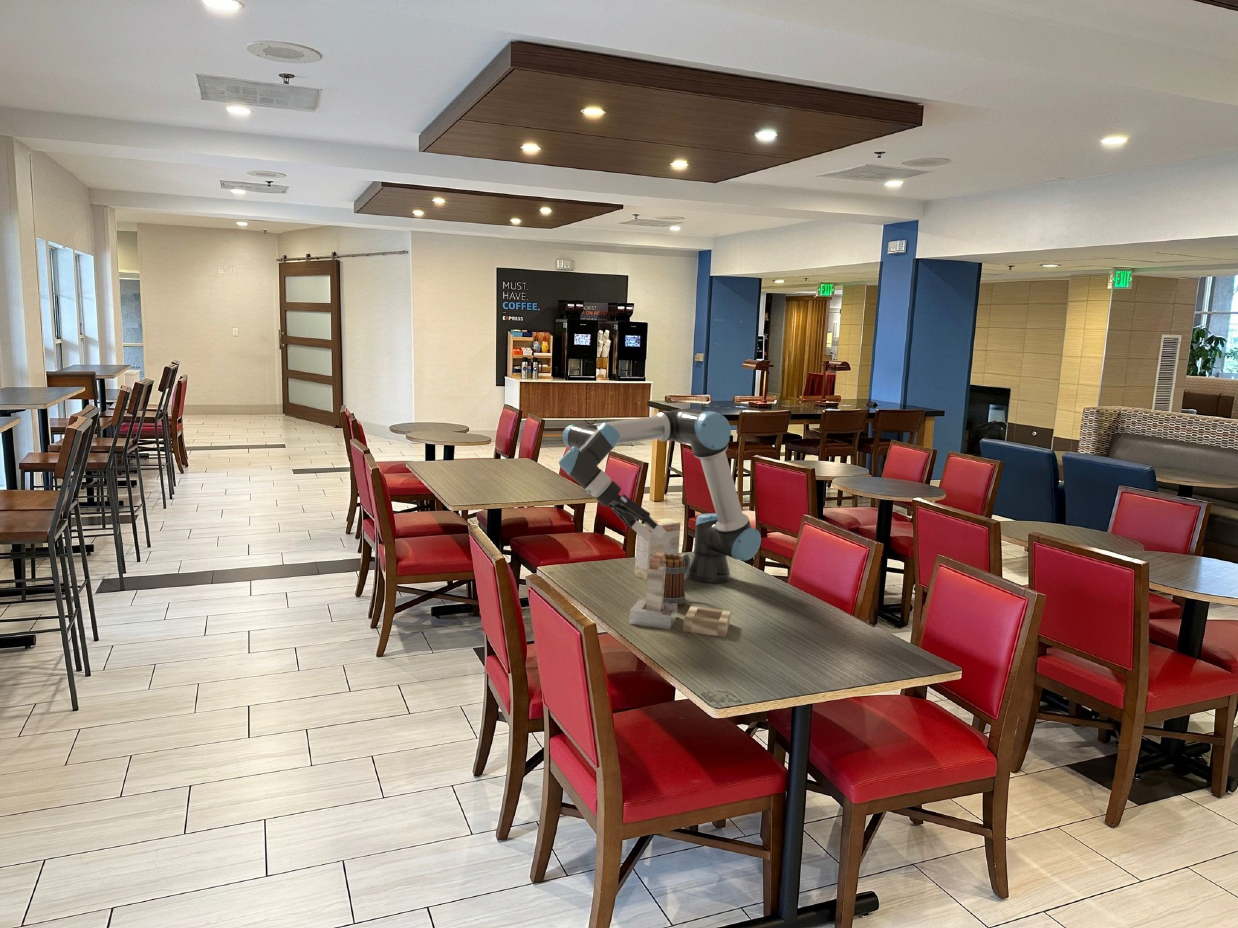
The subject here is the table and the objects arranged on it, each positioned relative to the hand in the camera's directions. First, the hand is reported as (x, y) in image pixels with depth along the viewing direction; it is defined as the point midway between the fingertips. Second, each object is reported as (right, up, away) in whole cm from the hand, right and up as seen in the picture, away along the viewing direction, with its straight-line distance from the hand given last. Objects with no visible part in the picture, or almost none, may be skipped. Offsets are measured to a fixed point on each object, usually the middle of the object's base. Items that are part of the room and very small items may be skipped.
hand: (656, 536), depth 249 cm
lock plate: (-1, -25, -2) cm, 25 cm away
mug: (+6, -22, +18) cm, 29 cm away
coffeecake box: (+2, -18, +47) cm, 51 cm away
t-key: (-1, -25, -2) cm, 25 cm away
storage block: (+15, -26, -6) cm, 30 cm away
